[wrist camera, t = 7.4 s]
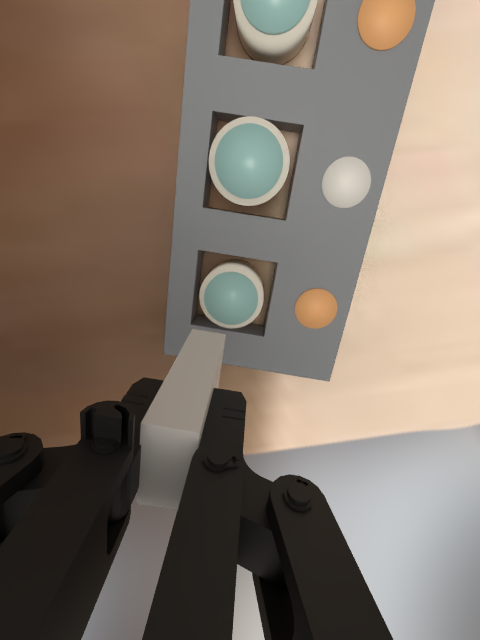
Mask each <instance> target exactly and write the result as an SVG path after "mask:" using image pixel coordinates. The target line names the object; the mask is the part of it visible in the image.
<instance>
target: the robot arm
mask: <svg viewBox="0 0 480 640" xmlns="http://www.w3.org/2000/svg"><path fill="white" fill-rule="evenodd" d="M225 338H226V334H221V333H215V332H209V331H203V330H196V329H192V330H191V332H190V334H189V336H188V338H187V340H186V341H185V343H184V345H183V347H182V349H181V351H180V352H179V354H178V356H177V358H176V360H175V362H174V363H173V365H172V367H171V369H170V371H169V373H168V374H167V376H166V378H165V380H164V381H162V380H156V379H150V378H142V379H141V380H139V381H137V382H136V383H134V384H133V385H132V386H131V387H130V389H129V390H128V392H127V394H126V395H125V396H124V397H123V399H122V400H121V402H119V401H103V402H97V403H94V404H92V405H90V406H87V407H86V408H85V409H84V410H82V411H81V412H80V423H81V440H80V441H79V442H78V444H76V445H71V446H64V447H52V448H43V444H42V441H41V439H40V438H39V437H37V436H36V435H34V434H30V433H12V434H8V435H4V436H1V437H0V640H81V638H82V636H83V634H84V631H85V629H86V626H87V624H88V621H89V619H90V616H91V614H92V612H93V609H94V607H95V604H96V602H97V599H98V597H99V594H100V592H101V590H102V587H103V585H104V582H105V580H106V577H107V575H108V573H109V570H110V567H111V565H112V563H113V560H114V558H115V555H116V553H117V551H118V548H119V546H120V543H121V541H122V538H123V536H124V533H125V531H126V529H127V526H128V524H129V520H130V514H131V504H132V502H133V499H134V497H135V495H136V493H137V504H143V505H148V506H154V507H161V508H166V509H173V510H178V511H177V514H176V518H175V521H174V525H173V529H172V532H171V536H170V540H169V544H168V547H167V551H166V555H165V558H164V562H163V565H162V569H161V573H160V576H159V580H158V584H157V587H156V591H155V594H154V598H153V602H152V605H151V609H150V613H149V616H148V620H147V624H146V627H145V631H144V635H143V638H142V640H232V630H233V616H234V601H235V586H236V572H237V564H239V565H240V566H242V567H244V568H245V569H247V570H249V571H251V572H252V575H253V581H254V586H255V591H256V596H257V602H258V606H259V612H260V617H261V622H262V627H263V632H264V638H265V640H393V638H392V636H391V634H390V632H389V630H388V628H387V626H386V624H385V621H384V619H383V618H382V615H381V613H380V611H379V609H378V607H377V605H376V603H375V601H374V598H373V596H372V594H371V592H370V590H369V588H368V586H367V584H366V582H365V580H364V578H363V575H362V574H361V571H360V569H359V567H358V565H357V563H356V561H355V559H354V557H353V555H352V553H351V550H350V549H349V546H348V545H347V542H346V540H345V538H344V536H343V534H342V532H341V530H340V528H339V526H338V524H337V522H336V519H335V517H334V515H333V513H332V511H331V509H330V507H329V505H328V503H327V501H326V498H325V496H324V495H323V493H322V492H321V491H320V489H319V488H318V487H317V486H316V485H315V484H313V483H312V482H311V481H310V480H307V479H305V478H303V477H301V476H295V475H285V476H280V477H279V478H278V479H276V480H275V481H274V482H272V481H269V480H267V479H265V478H263V477H261V476H259V475H258V474H256V473H255V472H253V471H252V470H251V469H250V468H249V467H248V465H247V464H246V462H245V460H244V458H243V442H244V428H245V414H246V413H245V412H246V400H245V398H244V396H243V394H242V393H241V392H237V391H230V390H224V389H218V386H219V379H220V372H221V365H222V358H223V351H224V344H225Z"/></svg>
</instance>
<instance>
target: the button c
mask: <svg viewBox="0 0 480 640" xmlns="http://www.w3.org/2000/svg"><path fill="white" fill-rule="evenodd" d="M317 1H318V0H233V2H234V8H235V15H236V22H237V28H238V34H239V38H240V41H241V44H242V46H243V48H244V49H245V51H246V52H247V54H248V55H249V56H250V57H251V58H253V59H254V60H255V61H261V62H267V63H274V64H283V63H286V62H288V61H289V60H291V59H292V58H293V57H295V56H296V55H297V54H298V53H299V51H300V50H301V49H302V47H303V46H304V44H305V42H306V40H307V38H308V35H309V32H310V28H311V24H312V20H313V16H314V13H315V9H316V5H317Z"/></svg>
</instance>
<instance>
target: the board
mask: <svg viewBox="0 0 480 640" xmlns="http://www.w3.org/2000/svg"><path fill="white" fill-rule="evenodd" d="M230 1H231V0H190V7H189V21H188V34H187V47H186V61H185V74H184V87H183V100H182V114H181V127H180V140H179V153H178V167H177V180H176V193H175V207H174V220H173V233H172V246H171V260H170V273H169V286H168V299H167V313H166V326H165V339H164V353H163V354H167V355H173V356H178V354H179V352H180V351H181V349H182V347H183V345H184V343H185V341H186V340H187V338H188V336H189V334H190V332H191V330H192V329H196V330H203V331H209V332H215V333H221V334H226V338H225V344H224V351H223V358H222V364H227V365H233V366H239V367H245V368H251V369H257V370H263V371H269V372H275V373H281V374H287V375H293V376H299V377H305V378H311V379H318V380H324V381H330V377H331V374H332V370H333V366H334V363H335V359H336V355H337V352H338V348H339V345H340V341H341V337H342V334H343V330H344V327H345V323H346V319H347V316H348V312H349V309H350V305H351V301H352V298H353V294H354V290H355V287H356V283H357V280H358V276H359V272H360V269H361V265H362V262H363V258H364V254H365V251H366V247H367V243H368V240H369V236H370V233H371V229H372V225H373V222H374V218H375V215H376V211H377V207H378V204H379V200H380V197H381V193H382V189H383V186H384V182H385V178H386V175H387V171H388V168H389V164H390V160H391V157H392V153H393V150H394V146H395V142H396V139H397V135H398V132H399V128H400V124H401V121H402V117H403V113H404V110H405V106H406V103H407V99H408V95H409V92H410V88H411V85H412V81H413V77H414V74H415V70H416V67H417V63H418V59H419V56H420V52H421V48H422V45H423V41H424V38H425V34H426V30H427V27H428V23H429V20H430V16H431V12H432V9H433V5H434V2H435V0H325V1H324V7H323V12H322V17H321V23H320V28H319V33H318V39H317V44H316V50H315V55H314V60H313V66H312V69H307V68H300V67H294V66H287V65H280V64H274V63H267V62H261V61H254V60H247V59H241V58H234V57H228V56H225V47H226V38H227V29H228V20H229V10H230ZM247 116H253V117H259V118H262V119H265V120H267V121H269V122H270V123H272V124H273V125H274V126H276V128H277V129H278V130H285V131H291V132H298V133H300V136H299V141H298V146H297V152H296V157H295V162H294V168H293V173H292V178H291V184H290V189H289V195H288V200H287V205H286V211H285V216H284V219H279V218H272V217H266V216H260V215H254V214H247V213H241V212H235V211H228V210H222V209H216V208H209V207H208V204H209V194H210V185H211V175H210V171H209V153H210V149H211V145H212V143H213V141H214V139H215V137H216V130H217V121H218V120H220V121H226V122H231V121H233V120H235V119H237V118H241V117H247ZM203 251H208V252H214V253H221V254H227V255H233V256H239V257H246V258H252V259H258V260H264V261H270V262H276V264H275V270H274V275H273V281H272V286H271V291H270V297H269V302H268V307H267V313H266V318H265V324H264V326H262V325H256V324H250V323H249V324H248V325H246V326H243V327H240V328H225V327H221V326H219V325H217V324H215V323H213V322H212V321H211V320H210V319H209V318H208V317H207V316H201V315H196V314H197V305H198V296H199V286H200V277H201V268H202V259H203Z"/></svg>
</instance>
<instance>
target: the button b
mask: <svg viewBox="0 0 480 640" xmlns="http://www.w3.org/2000/svg"><path fill="white" fill-rule="evenodd" d="M289 165H290V156H289V150H288V146H287V143H286V140H285V138H284V137H283V135H282V133H281V132H280V131H279V130H278V129H277V128H276V126H274V125H273V124H272V123H270V122H269V121H267V120H265V119H262V118H259V117H253V116H247V117H241V118H237V119H235V120H233V121H231V122H229V123H228V124H226V125H225V126H224V127H223V128H222V129H221V130H220V131H219V133H218V134H217V135H216V137H215V139H214V141H213V143H212V145H211V149H210V153H209V171H210V175H211V178H212V181H213V183H214V185H215V186H216V188H217V190H218V191H219V192H220V193H221V194H222V195H223V196H224V197H225V198H226V199H228V200H229V201H231V202H233V203H236V204H239V205H244V206H254V205H259V204H262V203H264V202H266V201H268V200H270V199H271V198H272V197H273V196H275V195H276V194H277V193H278V191H279V190H280V189H281V187H282V186H283V184H284V182H285V180H286V178H287V175H288V171H289Z"/></svg>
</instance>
